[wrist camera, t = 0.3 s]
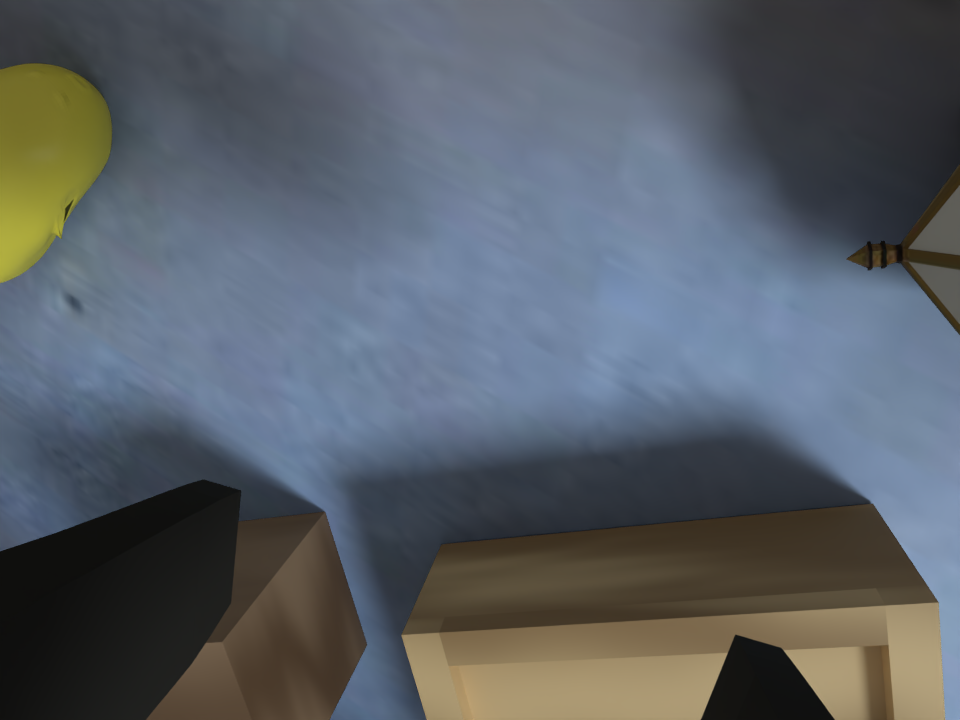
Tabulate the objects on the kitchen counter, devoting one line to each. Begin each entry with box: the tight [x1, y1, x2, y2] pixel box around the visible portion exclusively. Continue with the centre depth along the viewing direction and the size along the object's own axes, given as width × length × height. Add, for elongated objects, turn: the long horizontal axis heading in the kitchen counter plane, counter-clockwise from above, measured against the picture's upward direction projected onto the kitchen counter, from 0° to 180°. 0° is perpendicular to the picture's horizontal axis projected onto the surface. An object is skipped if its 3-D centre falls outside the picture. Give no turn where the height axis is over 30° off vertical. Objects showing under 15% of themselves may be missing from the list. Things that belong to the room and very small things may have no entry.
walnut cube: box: [146, 512, 367, 720], centre depth 20 cm, size 5×5×6 cm
